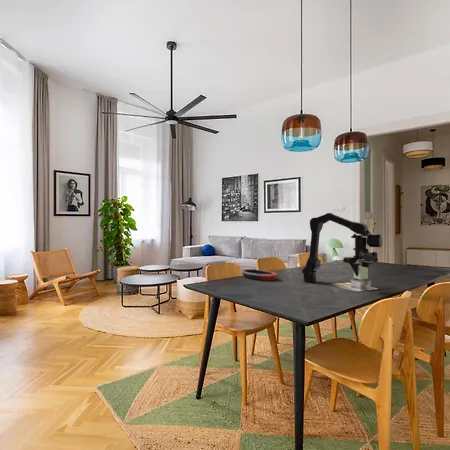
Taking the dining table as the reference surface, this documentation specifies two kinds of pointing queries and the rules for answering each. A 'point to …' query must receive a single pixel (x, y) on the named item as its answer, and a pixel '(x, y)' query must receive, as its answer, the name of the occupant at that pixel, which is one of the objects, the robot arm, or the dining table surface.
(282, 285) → the dining table surface
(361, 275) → the sage block
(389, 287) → the dining table surface
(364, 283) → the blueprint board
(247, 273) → the dish
